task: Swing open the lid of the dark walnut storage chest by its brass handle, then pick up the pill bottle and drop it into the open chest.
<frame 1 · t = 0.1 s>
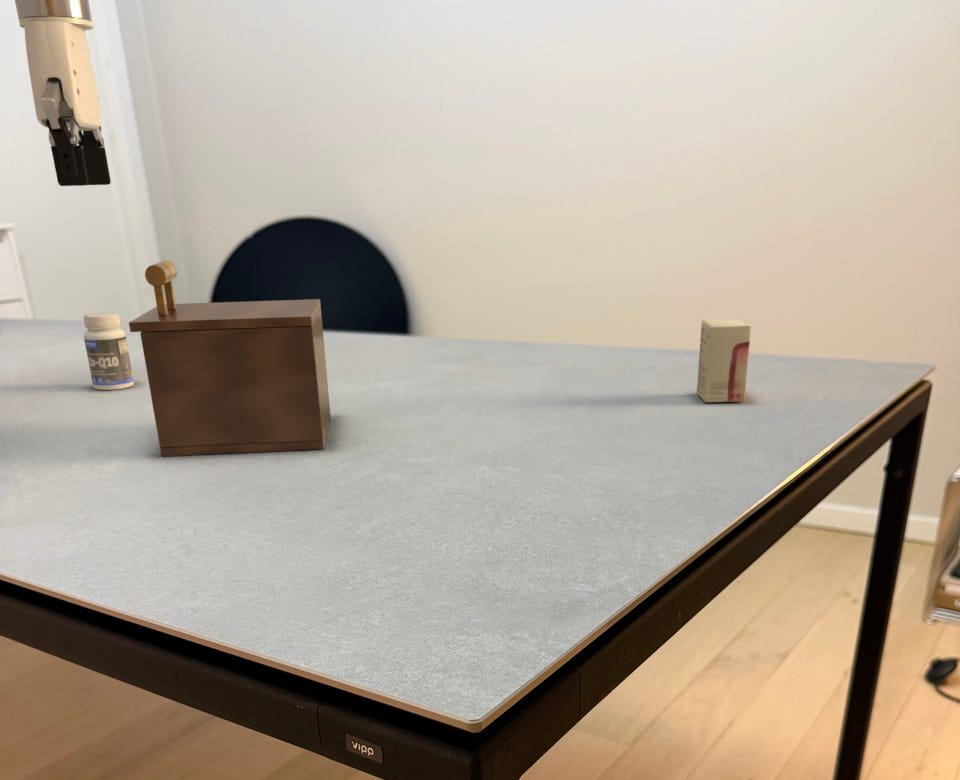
hand: (86, 185, 111), 22 cm above the table, tool pointing down, fingers open, 9 cm apart
lid: (228, 290, 86), point 13 cm above the table, hinge at 0.0°
small box: (719, 400, 103), on the table
pill bottle: (114, 388, 116), on the table
chest: (251, 436, 92), on the table
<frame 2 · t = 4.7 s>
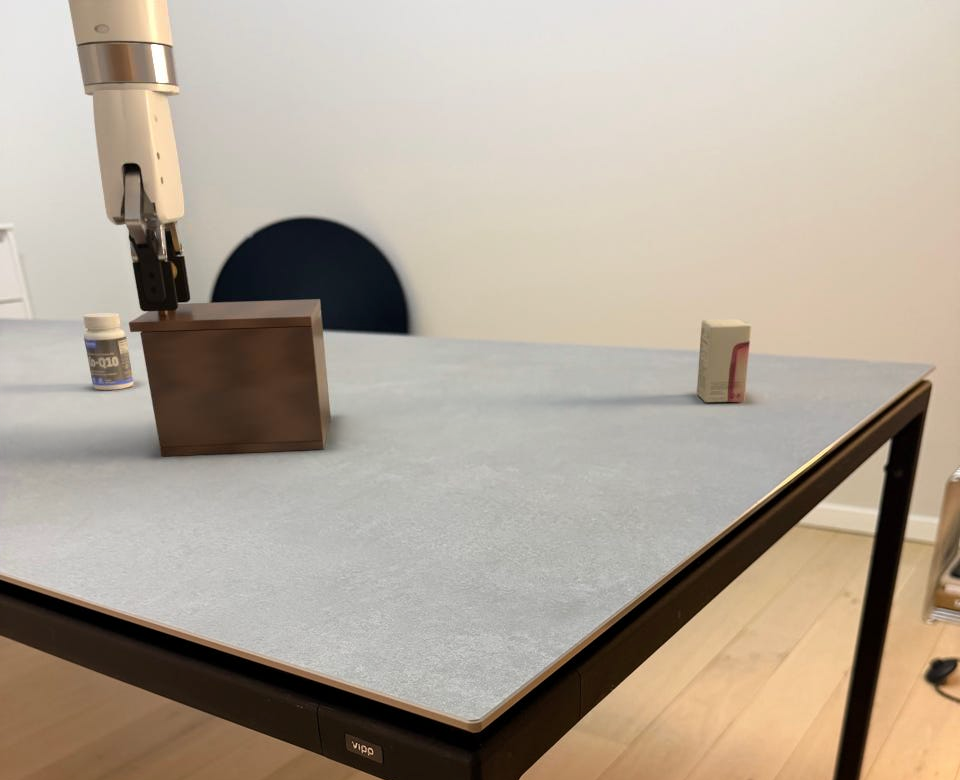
hand: (166, 304, 86), 12 cm above the table, tool pointing down, fingers closed on lid, 5 cm apart
lid: (228, 290, 86), point 13 cm above the table, hinge at 0.0°, touching gripper
everything else where it was.
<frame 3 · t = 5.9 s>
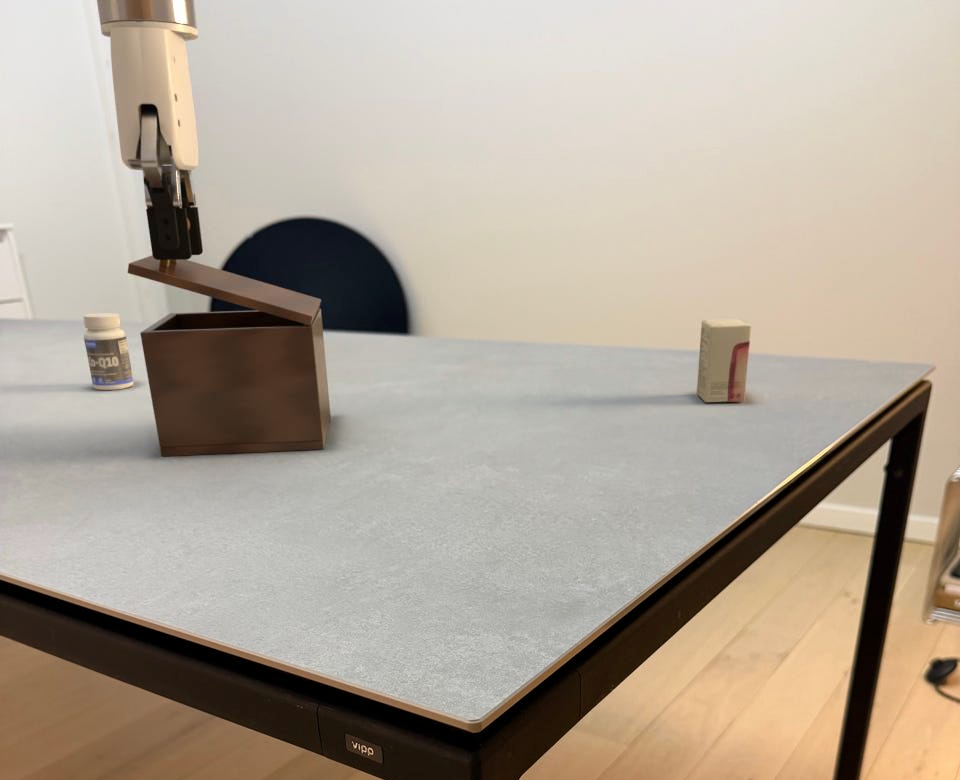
hand: (178, 254, 84), 16 cm above the table, tool pointing down, fingers closed on lid, 5 cm apart
lid: (236, 263, 85), point 16 cm above the table, hinge at 17.8°, touching gripper
everything else where it was.
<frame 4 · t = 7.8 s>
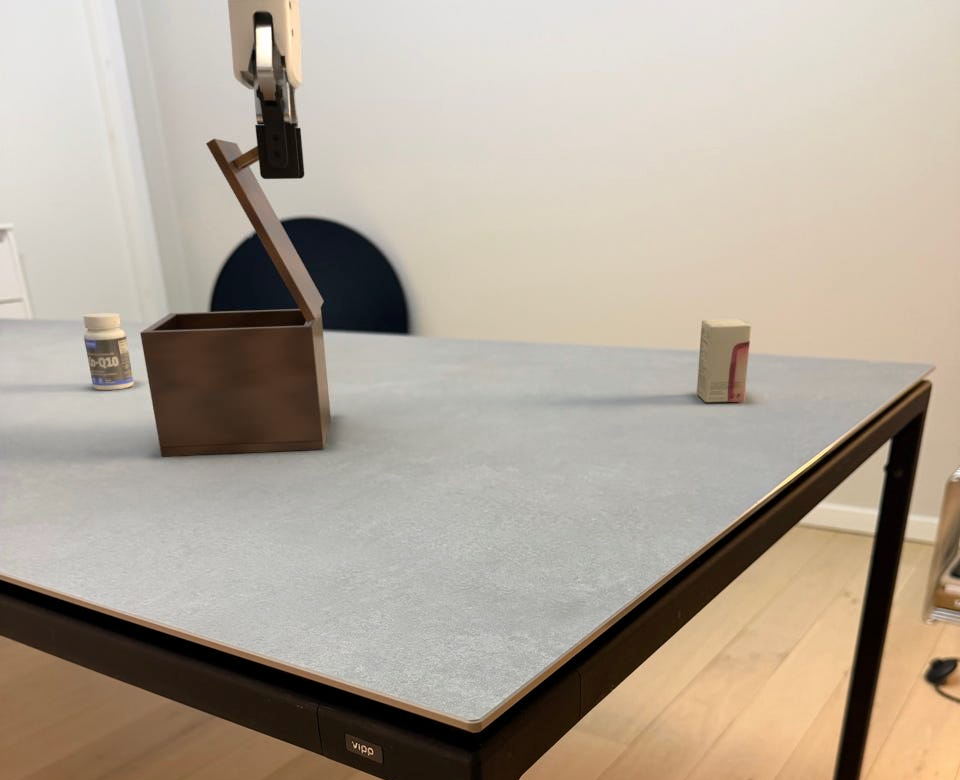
hand: (283, 176, 83), 23 cm above the table, tool pointing down, fingers closed on lid, 5 cm apart
lid: (291, 219, 84), point 19 cm above the table, hinge at 64.6°, touching gripper
everything else where it was.
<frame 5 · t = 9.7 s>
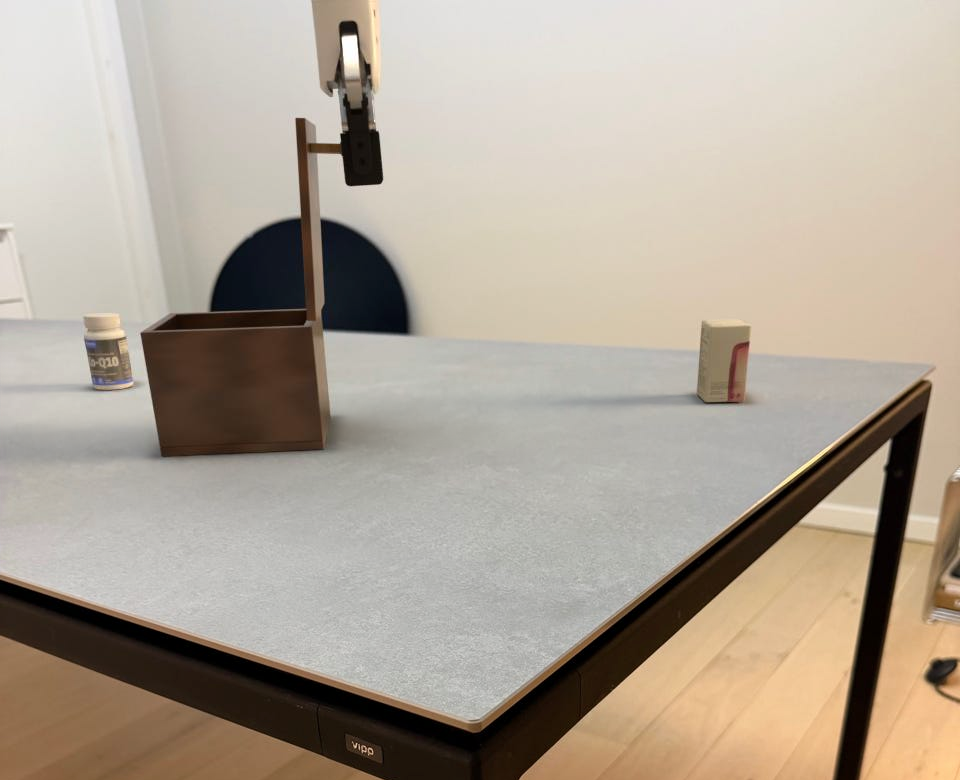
hand: (365, 182, 83), 22 cm above the table, tool pointing down, fingers closed on lid, 5 cm apart
lid: (335, 220, 84), point 19 cm above the table, hinge at 92.3°, touching gripper
everything else where it was.
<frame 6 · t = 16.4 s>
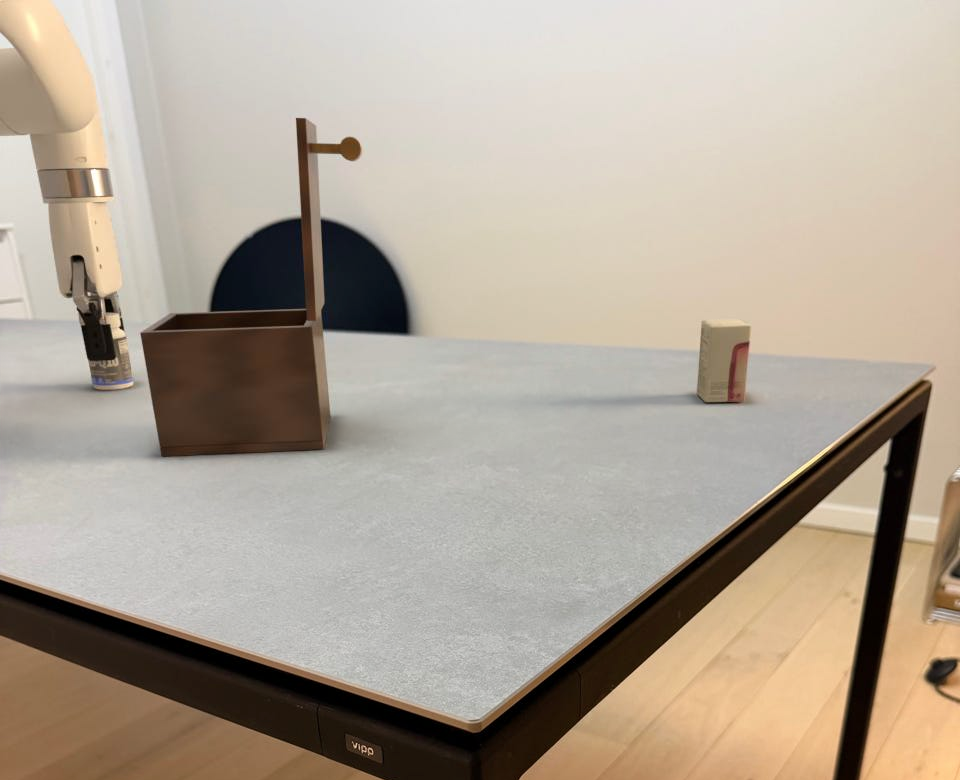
hand: (108, 354, 114), 4 cm above the table, tool pointing down, fingers closed on pill bottle, 4 cm apart
lid: (335, 221, 84), point 19 cm above the table, hinge at 92.5°
pill bottle: (114, 388, 116), on the table, touching gripper
everything else where it was.
when the fingers open (12 cm above the table, at t = 23.9 s): pill bottle drops 8 cm, resting on chest.
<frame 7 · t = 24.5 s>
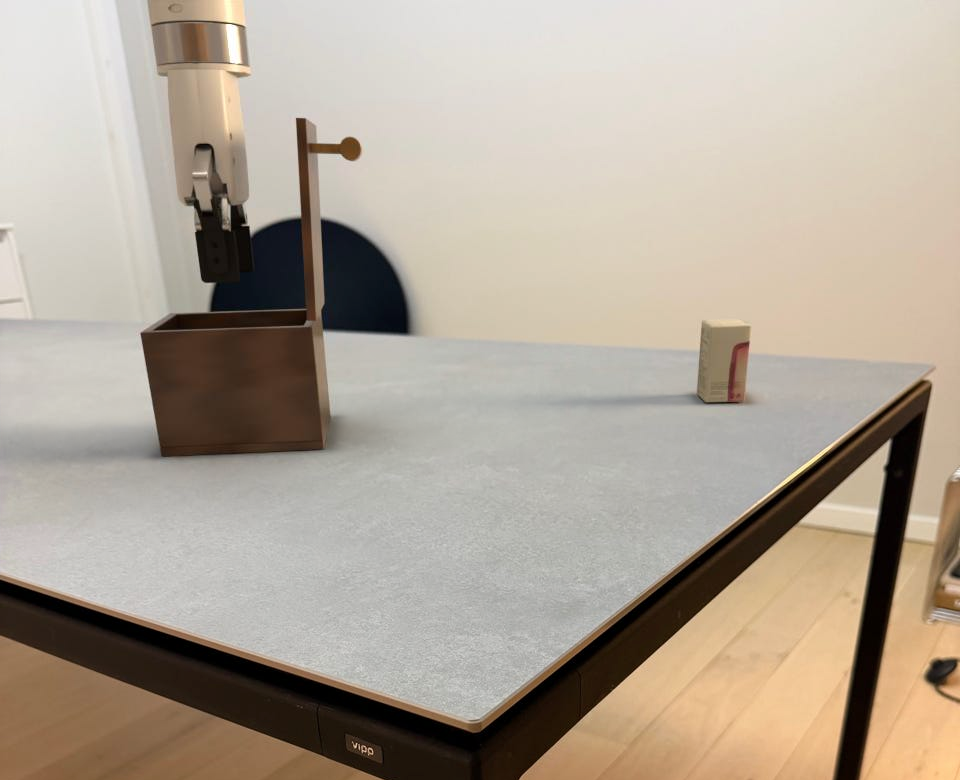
hand: (229, 276, 86), 14 cm above the table, tool pointing down, fingers open, 9 cm apart
pill bottle: (249, 428, 92), point 1 cm above the table, touching chest
everything else where it was.
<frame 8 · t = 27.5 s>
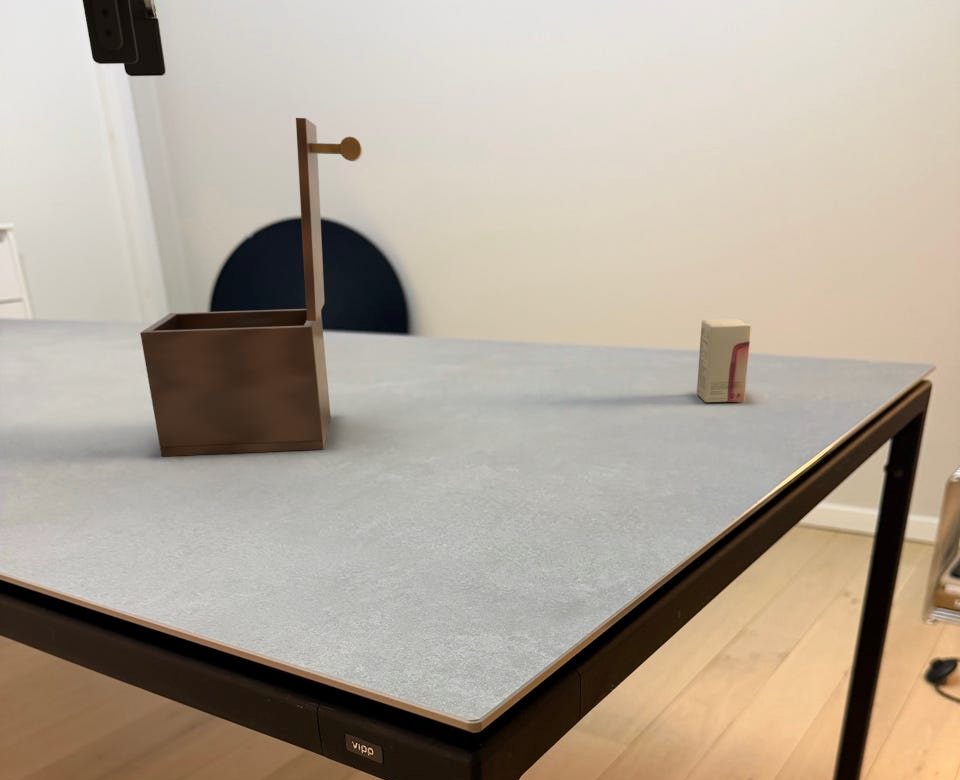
hand: (132, 69, 75), 30 cm above the table, tool pointing down, fingers open, 9 cm apart
nothing on the table moved.
at the end: lid at +92° (first picture: +0°); pill bottle inside the target area in the chest (0.1 cm from its centre), point 0.6 cm above the chest's base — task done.
